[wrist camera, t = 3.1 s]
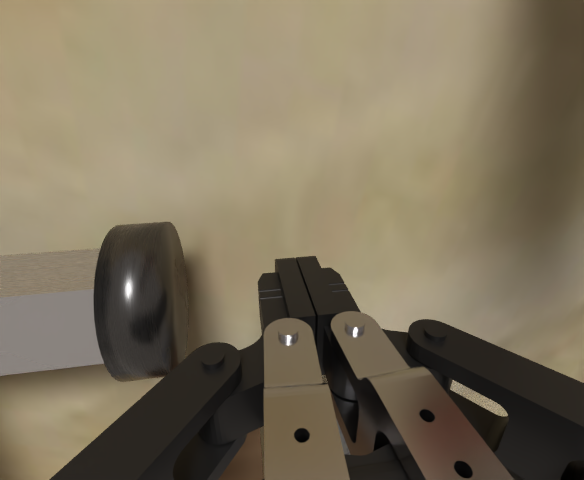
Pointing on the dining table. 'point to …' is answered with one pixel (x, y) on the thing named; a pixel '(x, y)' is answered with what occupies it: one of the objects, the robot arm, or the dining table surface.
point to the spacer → (246, 460)
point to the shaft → (98, 306)
